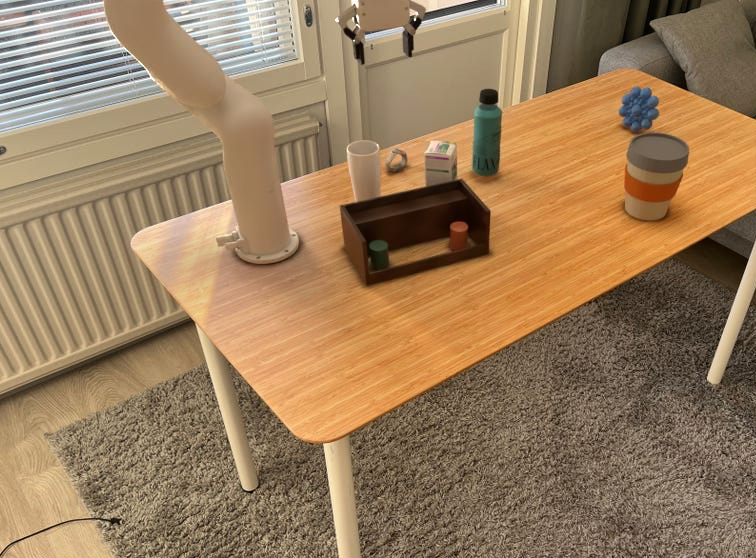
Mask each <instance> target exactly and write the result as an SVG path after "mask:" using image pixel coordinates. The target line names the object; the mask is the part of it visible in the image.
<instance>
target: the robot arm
mask: <svg viewBox="0 0 756 558" xmlns="http://www.w3.org/2000/svg"><path fill="white" fill-rule="evenodd" d="M102 6H103V11H104V15H105V18H106V23H107V25H108V28H109V30H110V32H111V34H112V35H113V36H114V38H115V39H116V41H117V42H118V43H119V44H120V45H121V46H122V48H123V49H125V50H126V51H127V52H128V53H129V54H130V55H131V56H132V58H134V59H135V60H136V61H138V63H139V64H141V65H142V67H143V68H144V69H146V71H147V73H148V75H149V76H150V78H151V79H152V81H153V82H155V84H156V85H157V86H159V87H160V88H161V89H162V90H163V91H165V92H166V94H168V95H169V96H170V97H172V98H173V99H174V100H175V101H176V102H177V103H178V104H179V105H180V106H182V108H184V109H185V110H186V111H188V113H190V114H191V115H192V116H193V117H195V118H196V119H197V120H198V121H199V122H201V123H202V124H203V125H204V126H205V127H207V128H208V129H209V130H210V131H211V132H213V134H215V136H217V137H218V138H219V140H220V143H221V146H222V165H223V170H224V175H225V180H226V183H227V187H228V190H229V194H230V199H231V203H232V207H233V211H234V215H235V219H236V224H237V225H235V226H234V227H235V230H234V231H231V233H229V234H223V235H218V236H215V241H216V243H217V246H218V247H222V246H224V247H225V250H226V251H230V250H235V253H236V255H237V256H238V257H239V258H240V259H241V260H243V261H244V262H247V263H251V264H258V265H268V264H274V263H278V262H281V261H284V260H285V259H288V258H290V257H291V256H293V254H294V253H296V251H297V250H298V249H299V245H300V239H299V235H298V233H297V232H296V231H295V230H294V229H292V228H290V227H289V222H288V216H287V210H286V205H285V199H284V195H283V189H282V184H281V179H280V174H279V168H278V162H277V157H276V145H275V142H276V141H275V139H276V137H275V135H276V134H275V132H276V131H275V129H276V128H275V122H274V118H273V115H272V113H271V112H270V110H269V108H268V107H267V106H266V104H264V103H263V101H262V100H261V99H260V98H258V97H257V96H256V95H254V94H253V93H251V92H250V91H249V90H247V89H246V88H244V87H242V86H241V85H240V84H238V83H237V82H236V81H234V80H233V79H232V78H230V76H228V75H227V74H226V73H225V72H224V71H223V68H222V66H221V65H220V63H219V62H218V60H217V59H216V58H215V56H214V55H212V53H210V51H208V50H207V49H206V48H205V47H204V46H203V45H201V44H199V43H198V41H196V40H195V39H194V38H193V37H192V36H191V35H190V34H189V33H188V32H187V31H186V30H185V29H184V28H183V27H182V26H181V25H180V24H179V22H178V21H176V19H175V18H174V17H173V16H172V15H171V14H170V12H168V10H167V9H166V5H165V3H164V0H102ZM411 10H412V11H415V14H414V16H413V17H412V18H411ZM426 12H427V8H426V7H425V6H424V5H423V4H420V3H418V2H416V1H413V0H351V6H350V7H348V8H347V9H346V10H344V11H342V12H341V13H340V14H338V16H336V17H335V22H336V24H337V25H338V26H339V28H340V30H341V31H342V32H343V34H344V35H345V36H346V37H347V38H349V39H350V40H351V42H352V43H351V44H352V54H353V58H354V60H356V61H357V62H358V63H359V64H360V66H363V65H365V64H366V59H365V48H364V43H363V42H362V39H363V38H364V37H365V34H366V33H367V32H377V31H382V30H390V29H396V28H403V30H402V34H401V36H402V52H403V54H405V56H407V57H408V58H412V57H413V51H415V50H414V49H415V44H414V43H415V41H414V39H415V38H414V36H415V35H416V33H417V30H418V29H419V28H420V26H421V25H422V23H423V21H422V20H423V19H424V17H425V14H426ZM351 19H352V22H353V23H354V24H355V25H354V26H353V28H352V29H350V28H349V25H348V22H349V21H350V20H351Z"/></svg>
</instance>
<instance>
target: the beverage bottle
mask: <svg viewBox="0 0 756 558" xmlns="http://www.w3.org/2000/svg"><path fill="white" fill-rule="evenodd" d="M478 101H479V103H480V104H479V105H478V106H477V107H475V109H474V110H473V140H472V147H471V148H472V150H471V154H472V159H471V169H472V172H473V174H475V175H477V176H480V177H492V176H495V175H496V174H498V172H499V170H500V167H501V166H500V161H501V141H502V134H503V133H502V117H503V111H502V109H501V107H500V106H498V105H497V104H498V103H499V91H498V90H497V89H493V88H484V89H481V90H480V91H479V97H478Z"/></svg>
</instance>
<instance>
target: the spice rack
mask: <svg viewBox="0 0 756 558" xmlns="http://www.w3.org/2000/svg"><path fill="white" fill-rule="evenodd" d="M339 212H340V213H339V214H340V221H341V229H342V237H343V245H344V250H345V251H346V253H347V255H348V257H349V258H350V260H351V263H352V264H353V265H354V267H355V269H356V270H357V272H358V274H359V275H360V278H361V279H362V281H363V282H364V284H365V286H371V285H375V284H378V283H382V282H385V281H389V280H394V279H396V278H397V279H398V278H400V277H406V276H408V275H412V274H417V273H419V272H423V271H428V270H431V269H435V268H439V267H443V266H446V265H447V266H448V265H450V264H455V263H458V262H462V261H466V260H470V259H475V258H478V257H481V256H485V255H488V254H490V233H491V215H492V214H491V213H492V211H491V210H490V208H489V207H488V206H487V205H486V203H484V202H483V200H482V199H481V198H480V197H479V195H477V193H475V191H474V190H473V189H472V187H470V186H469V184H468V183H467V182H466V181H465V180H464V179H463V178H457V180H453V181H448V182H444V183H439V184H435V185H430V186H426V185H425V186H422V187H416V188H413V189H408V190H403V191H399V192H394V193H390V194H384V195H381V196H380V197H376V198H371V199H367V200H362V201H358V202H355V201H353V202H350V203H345V204H344V203H343V204H340V205H339ZM454 222H464V223H466V224H467V225H468V236H469V237H471V239H472V240H473V241H474V242H475V244H476V245H472V246H468V247H467V248H464V249H460V250H456V251H454V250H452V251H449V252H443V253H441V254H436V255H433V256H428V257H425V258H421V259H417V260H413V261H410V262H409V261H408V262H405V263H401V264H397V265H394V266H389V268H385V269H382V270H378V271H374V270H373V271H371V272H370V267H369V258H368V257H370V251H369V244H370V243H371V242H373V241H376V240H382V241H385V242H386V243H387V244H388V252H389V251H394V250H399V249H401V248H407V247H410V246H414V245H419V244H422V243H426V242H431V241H434V240H438V239H443V238H446V237H447V238H448V237H450V225H451V224H452V223H454Z"/></svg>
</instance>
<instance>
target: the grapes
mask: <svg viewBox="0 0 756 558" xmlns="http://www.w3.org/2000/svg"><path fill="white" fill-rule="evenodd" d="M659 103H660V99H659V97H658V96H657V95H653V91H652V89H651V88H650V87H648V86H646V87H643V88H640V86H634V87H632V88H631V89H630V91H629V93H626V94H624V95H623V96H622V97H621V104H622V105H621V106H620V107H619V109H618V115H619V116H620V117H622V118H623V119H622V126H623V127H624V128H630V129H631V132H633V133H640V132H641V131H642V130H644V131H647V130H650V129H651V128H652V126H653V121H655V120H657V119H658V118H659V116H660V110H659V109H658V108H657V106H659Z"/></svg>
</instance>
